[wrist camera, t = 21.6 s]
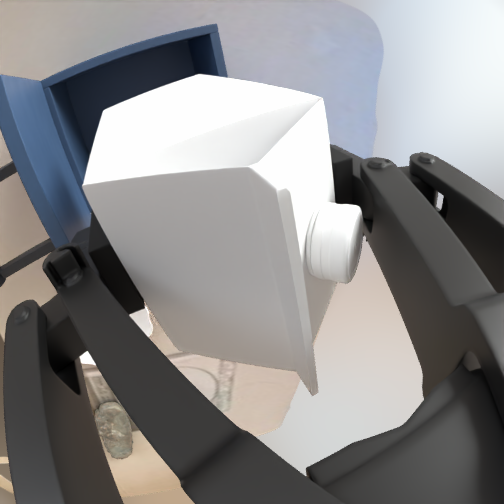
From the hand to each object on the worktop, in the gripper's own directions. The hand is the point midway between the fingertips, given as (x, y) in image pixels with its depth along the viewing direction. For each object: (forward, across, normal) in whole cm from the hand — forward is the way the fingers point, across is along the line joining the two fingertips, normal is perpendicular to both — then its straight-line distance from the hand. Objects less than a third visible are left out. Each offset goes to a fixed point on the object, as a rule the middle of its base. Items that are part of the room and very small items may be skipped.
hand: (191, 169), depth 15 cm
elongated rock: (+32, -40, -73) cm, 89 cm away
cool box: (+32, -1, 0) cm, 32 cm away
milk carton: (+9, 0, 0) cm, 9 cm away
